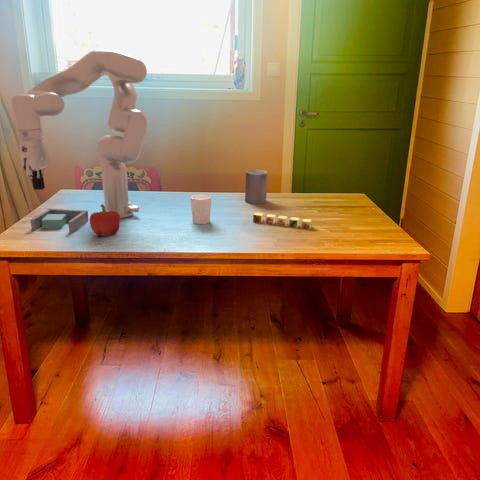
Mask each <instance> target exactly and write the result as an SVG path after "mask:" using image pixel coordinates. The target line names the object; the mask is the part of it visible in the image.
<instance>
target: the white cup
mask: <svg viewBox="0 0 480 480" xmlns="http://www.w3.org/2000/svg"><path fill="white" fill-rule="evenodd" d="M190 204H191V205H190V207H191V208H190V209H191V217H192V218H191V219H192V222H193V223H194V224H197V225H204V224H205V225H206V224H209V223H210V222H211V221H210V220H211V212H212V209H211V208H212V196H211V195H209V194H202V193H201V194H199V193H198V194H193V195H191V196H190Z"/></svg>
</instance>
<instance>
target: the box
mask: <svg viewBox="0 0 480 480" xmlns="http://www.w3.org/2000/svg"><path fill="white" fill-rule="evenodd" d="M88 212H89V211H88V210H84V209H83V210H82V209H81V210H80V209H63V208H60V209H59V208H48V209H46V210H45V211H43V212H41V213H39V214H38V215H35V217H33V218H31V219H30V225H31V226H30V227H31V231H36V230H38V229H39V228H41V227H42V219H43V218H44V217H45V216H46V215H47V214H66V217H67V223H68V231H69V233H74V232H75V231H77V230H78V229H80V228H81V227H82V226H83V225H85V224H86V223H87V222H88V221H89V213H88Z"/></svg>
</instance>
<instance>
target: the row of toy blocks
mask: <svg viewBox="0 0 480 480" xmlns="http://www.w3.org/2000/svg"><path fill="white" fill-rule="evenodd" d="M264 217H265V218H264ZM252 219H253V220H252V222H253V223H263V221H264V219H265V222H264V223H265V224H267V225H268V224H269V225H274V224H276V225H277V226H282V227H286V226H287V224H288V226H289V227H291V228H298V227H299V226H300V220H301V219H300V217H296V216H295V217H293V216H291V217H290V218H289V220H288V216H285V215H279V216H278V217H277V215H276V214H270V213H268V214H267V215H265V213H263V212H262V213H261V212H255V213H253V218H252ZM276 220H277V221H276ZM288 221H289V223H288ZM312 224H313V220H312V219H308V218H302V220H301V229H306V230H310V229H311V228H312Z"/></svg>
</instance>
